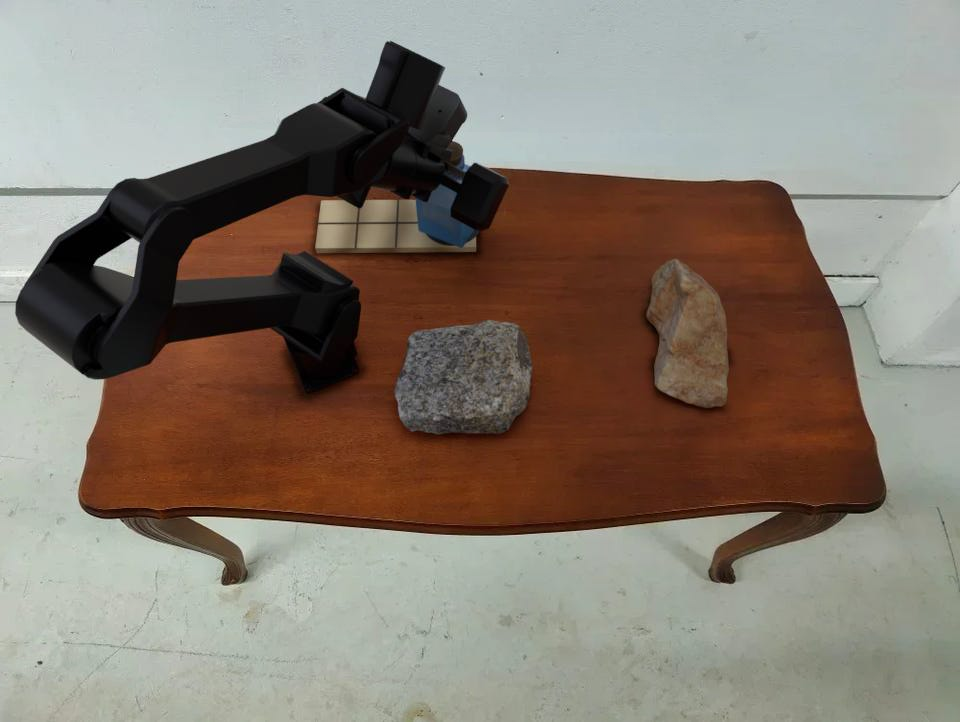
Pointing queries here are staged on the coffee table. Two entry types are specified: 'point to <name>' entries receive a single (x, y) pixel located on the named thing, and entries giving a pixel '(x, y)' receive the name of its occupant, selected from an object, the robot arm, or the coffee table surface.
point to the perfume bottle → (444, 208)
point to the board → (377, 229)
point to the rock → (464, 378)
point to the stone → (689, 336)
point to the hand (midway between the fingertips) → (457, 176)
